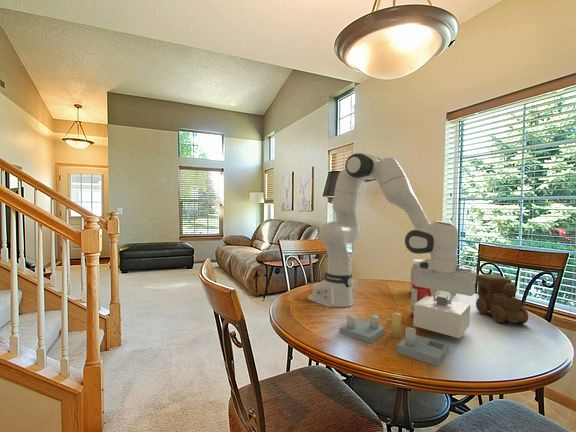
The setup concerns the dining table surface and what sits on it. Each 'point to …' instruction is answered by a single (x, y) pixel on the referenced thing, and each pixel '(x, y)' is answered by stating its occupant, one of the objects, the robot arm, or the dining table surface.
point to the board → (362, 328)
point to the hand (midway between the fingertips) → (442, 302)
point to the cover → (442, 316)
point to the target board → (422, 348)
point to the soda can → (418, 295)
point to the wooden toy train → (499, 299)
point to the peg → (396, 325)
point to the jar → (414, 270)
